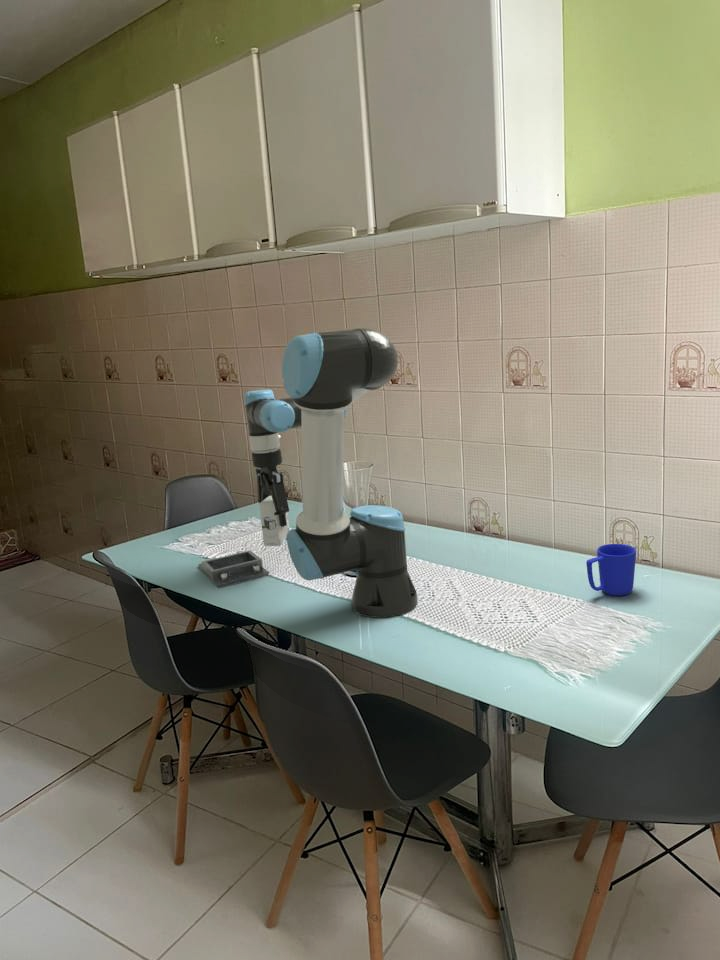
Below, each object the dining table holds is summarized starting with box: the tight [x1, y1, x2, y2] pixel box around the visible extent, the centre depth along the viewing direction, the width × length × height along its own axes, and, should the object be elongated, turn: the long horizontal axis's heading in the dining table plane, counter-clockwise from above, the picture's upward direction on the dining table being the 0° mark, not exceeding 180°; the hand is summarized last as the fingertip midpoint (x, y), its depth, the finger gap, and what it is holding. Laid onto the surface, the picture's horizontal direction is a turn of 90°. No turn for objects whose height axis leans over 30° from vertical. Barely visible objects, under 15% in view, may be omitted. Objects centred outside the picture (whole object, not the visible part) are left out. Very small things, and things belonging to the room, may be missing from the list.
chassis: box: [197, 549, 270, 589], centre depth 200 cm, size 20×14×3 cm
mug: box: [586, 543, 637, 597], centre depth 162 cm, size 8×12×10 cm
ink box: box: [258, 496, 290, 547], centre depth 191 cm, size 9×5×12 cm, turn 168°
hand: (276, 533), depth 192 cm, fingers closed on ink box, 9 cm apart
